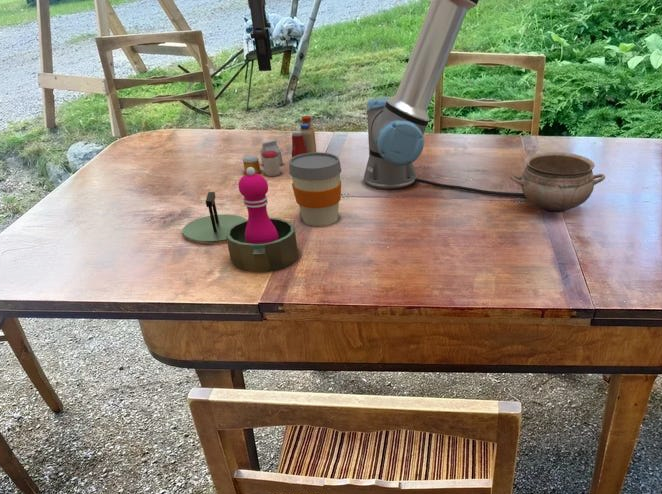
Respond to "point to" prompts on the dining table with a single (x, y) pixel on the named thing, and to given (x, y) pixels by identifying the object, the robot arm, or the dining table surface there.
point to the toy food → (272, 154)
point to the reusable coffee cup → (316, 186)
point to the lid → (210, 224)
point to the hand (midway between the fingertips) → (266, 65)
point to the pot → (262, 248)
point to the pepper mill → (256, 208)
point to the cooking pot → (557, 180)
